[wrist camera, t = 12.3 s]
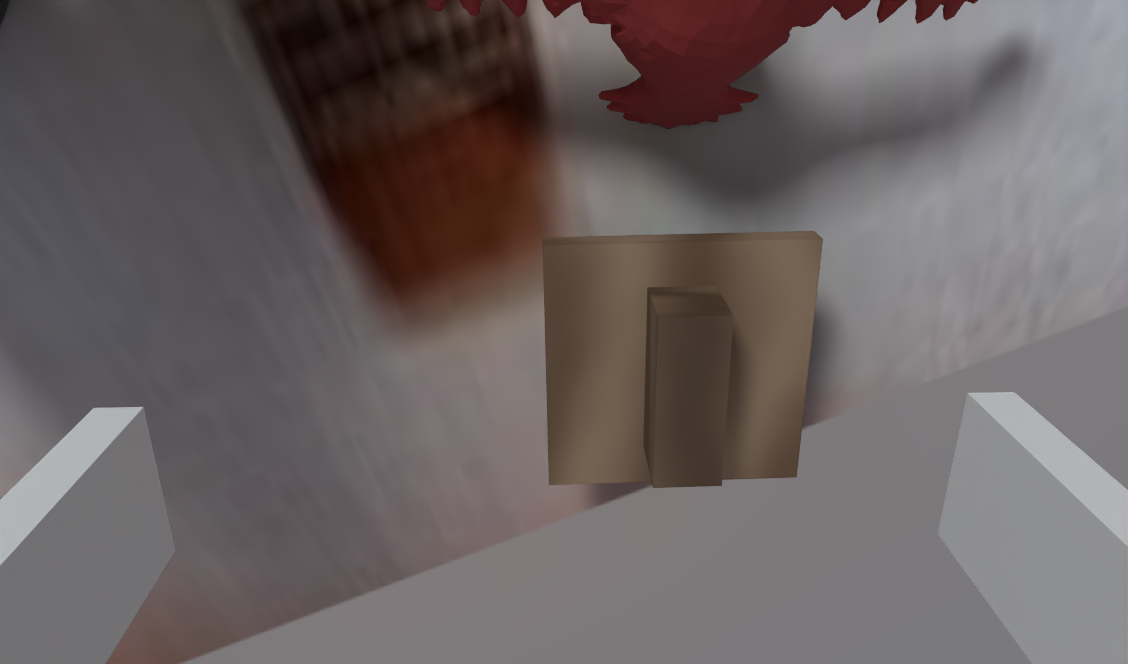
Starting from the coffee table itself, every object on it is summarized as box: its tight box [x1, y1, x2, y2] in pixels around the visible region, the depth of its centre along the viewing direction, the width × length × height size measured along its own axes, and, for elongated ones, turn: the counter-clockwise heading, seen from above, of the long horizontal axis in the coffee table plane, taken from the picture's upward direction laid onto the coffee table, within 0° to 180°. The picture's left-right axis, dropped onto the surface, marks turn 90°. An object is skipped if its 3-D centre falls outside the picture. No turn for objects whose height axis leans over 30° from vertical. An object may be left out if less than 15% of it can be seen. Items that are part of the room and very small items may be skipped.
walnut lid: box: [543, 231, 823, 488], centre depth 37 cm, size 12×12×5 cm
